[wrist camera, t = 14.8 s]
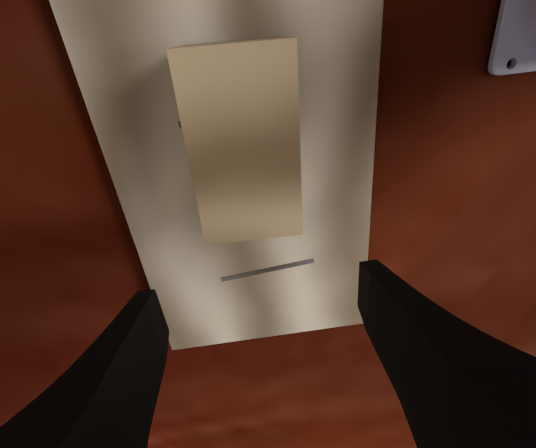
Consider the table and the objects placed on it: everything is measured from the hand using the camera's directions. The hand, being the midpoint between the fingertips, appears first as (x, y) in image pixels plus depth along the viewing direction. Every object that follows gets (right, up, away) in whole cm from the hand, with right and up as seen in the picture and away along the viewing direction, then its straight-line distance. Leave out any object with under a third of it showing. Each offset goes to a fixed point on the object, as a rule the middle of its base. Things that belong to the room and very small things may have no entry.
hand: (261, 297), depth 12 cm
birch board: (-1, +4, +8) cm, 9 cm away
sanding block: (-1, +7, +5) cm, 9 cm away
